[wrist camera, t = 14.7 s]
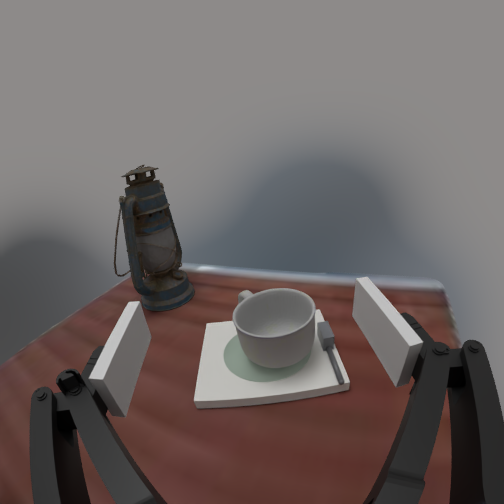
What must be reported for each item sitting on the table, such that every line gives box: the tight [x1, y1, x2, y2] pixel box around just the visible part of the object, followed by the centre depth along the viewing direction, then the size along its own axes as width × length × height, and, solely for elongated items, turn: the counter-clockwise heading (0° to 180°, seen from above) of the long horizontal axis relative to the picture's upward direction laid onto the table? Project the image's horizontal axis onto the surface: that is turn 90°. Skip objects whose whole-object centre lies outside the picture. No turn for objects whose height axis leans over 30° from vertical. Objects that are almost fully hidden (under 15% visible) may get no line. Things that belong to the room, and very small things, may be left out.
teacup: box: [233, 288, 316, 368], centre depth 39 cm, size 14×11×8 cm
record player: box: [194, 310, 350, 408], centre depth 40 cm, size 20×18×4 cm
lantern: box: [114, 165, 194, 311], centre depth 58 cm, size 19×14×30 cm
